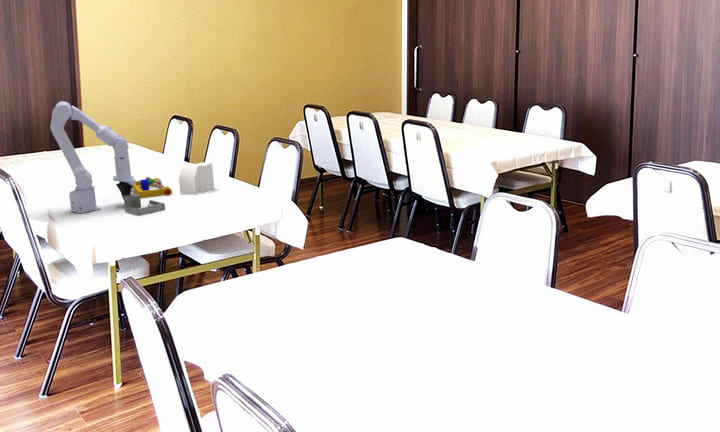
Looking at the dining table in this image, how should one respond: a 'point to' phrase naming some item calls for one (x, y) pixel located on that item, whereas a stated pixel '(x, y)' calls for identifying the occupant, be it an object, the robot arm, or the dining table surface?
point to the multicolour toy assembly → (143, 188)
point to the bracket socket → (146, 208)
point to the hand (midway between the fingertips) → (126, 199)
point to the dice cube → (132, 200)
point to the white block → (196, 178)
